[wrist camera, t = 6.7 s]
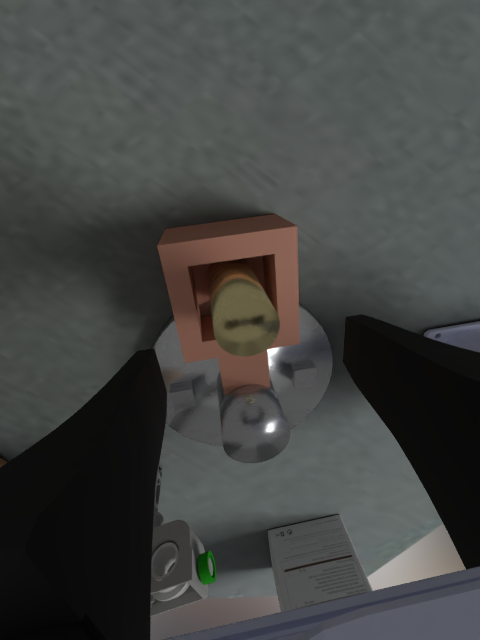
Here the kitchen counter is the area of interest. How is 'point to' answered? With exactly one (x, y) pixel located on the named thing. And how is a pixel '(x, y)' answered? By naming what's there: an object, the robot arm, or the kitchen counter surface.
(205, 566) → the mechanical component
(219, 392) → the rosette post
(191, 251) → the bracket
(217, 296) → the gold capsule
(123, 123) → the kitchen counter surface
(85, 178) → the kitchen counter surface
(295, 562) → the supplement box
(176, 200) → the kitchen counter surface
